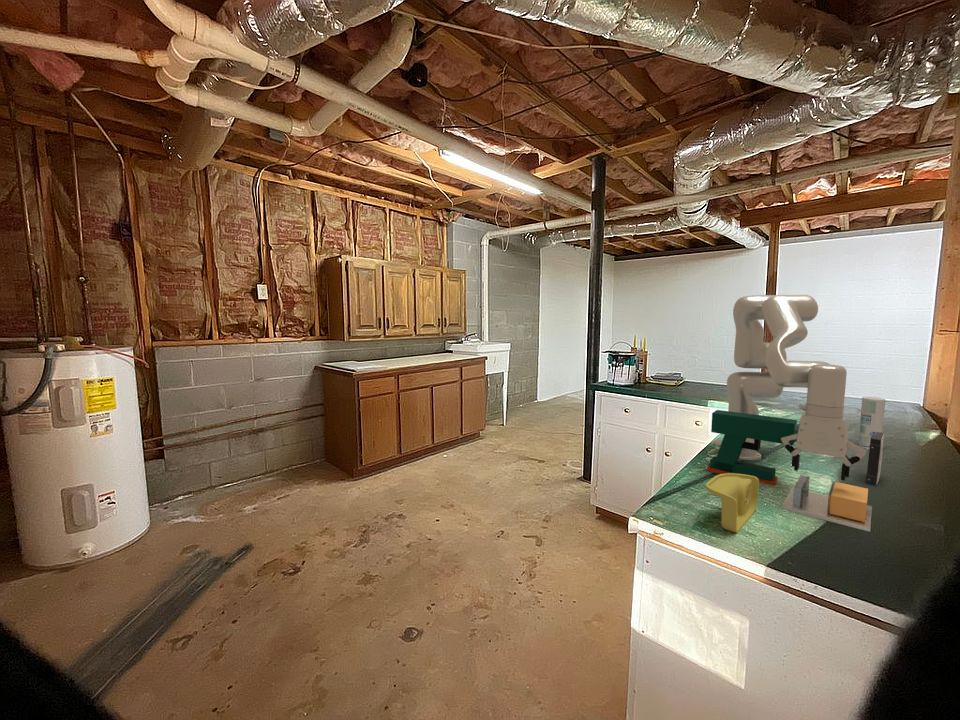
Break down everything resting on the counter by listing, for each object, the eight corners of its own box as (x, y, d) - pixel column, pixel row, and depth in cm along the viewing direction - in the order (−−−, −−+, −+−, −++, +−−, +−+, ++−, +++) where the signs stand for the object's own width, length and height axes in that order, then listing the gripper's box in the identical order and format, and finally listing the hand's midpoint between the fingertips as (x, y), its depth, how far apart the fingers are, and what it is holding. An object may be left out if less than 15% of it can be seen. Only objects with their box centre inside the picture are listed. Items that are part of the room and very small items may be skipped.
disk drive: (878, 486, 123) (882, 439, 122) (865, 484, 125) (869, 437, 124) (880, 477, 130) (884, 432, 129) (868, 475, 132) (872, 430, 131)
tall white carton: (885, 450, 157) (890, 399, 155) (868, 450, 157) (873, 399, 155) (869, 445, 164) (874, 396, 162) (853, 445, 164) (857, 396, 162)
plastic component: (735, 536, 95) (737, 494, 94) (701, 525, 100) (702, 485, 99) (757, 509, 108) (759, 473, 107) (726, 501, 114) (728, 466, 113)
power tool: (833, 491, 120) (839, 425, 118) (832, 499, 115) (838, 429, 113) (712, 465, 141) (715, 409, 140) (707, 471, 136) (710, 412, 134)
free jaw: (827, 512, 103) (828, 494, 103) (831, 498, 112) (833, 481, 111) (865, 522, 98) (866, 503, 98) (866, 506, 107) (868, 488, 106)
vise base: (781, 509, 108) (783, 487, 108) (791, 491, 119) (793, 471, 119) (870, 532, 96) (872, 507, 96) (871, 510, 108) (873, 487, 107)
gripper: (781, 408, 110) (776, 469, 112) (869, 419, 98) (862, 487, 100) (785, 404, 116) (781, 462, 117) (869, 414, 103) (863, 479, 105)
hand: (819, 474), depth 109 cm, fingers open, 9 cm apart
